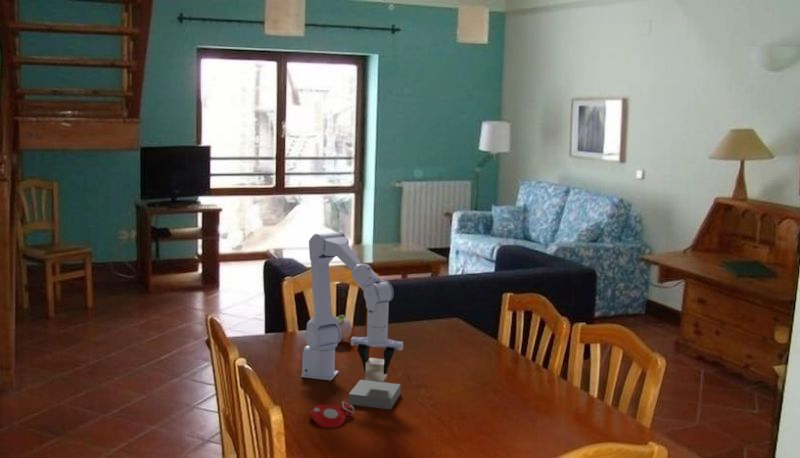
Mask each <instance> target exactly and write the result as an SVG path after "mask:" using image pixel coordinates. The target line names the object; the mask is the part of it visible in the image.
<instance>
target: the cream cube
mask: <svg viewBox="0 0 800 458" xmlns="http://www.w3.org/2000/svg"><path fill="white" fill-rule="evenodd" d="M364 374H365V377H364V378H365V379H364V380H367V381H376V382H385V380H386V379H387V376H388V373H387V374H384V358H376V357H369V360H368V361H367V362H366V370H365V372H364Z"/></svg>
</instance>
